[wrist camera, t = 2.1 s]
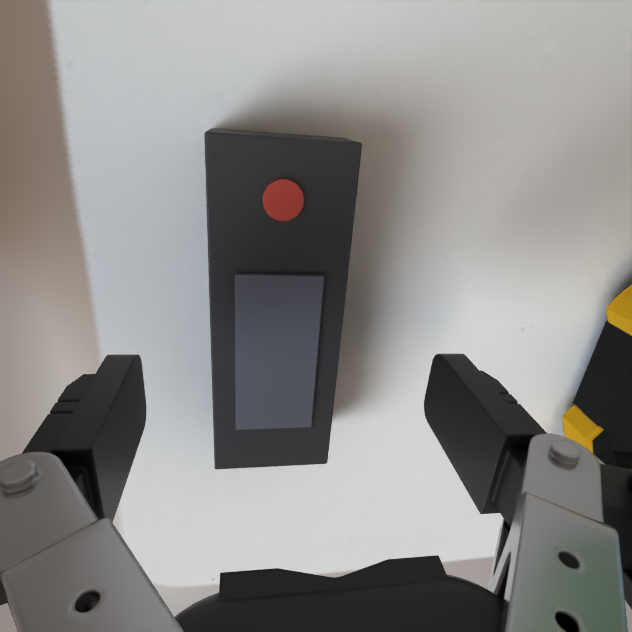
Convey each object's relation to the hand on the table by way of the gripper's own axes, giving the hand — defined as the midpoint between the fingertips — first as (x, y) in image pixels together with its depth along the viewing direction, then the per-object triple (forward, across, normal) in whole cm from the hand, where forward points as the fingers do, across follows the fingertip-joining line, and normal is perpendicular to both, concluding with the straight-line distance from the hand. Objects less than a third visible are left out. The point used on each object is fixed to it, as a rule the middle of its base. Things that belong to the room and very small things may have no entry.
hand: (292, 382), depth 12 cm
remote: (+5, 0, 0) cm, 5 cm away
